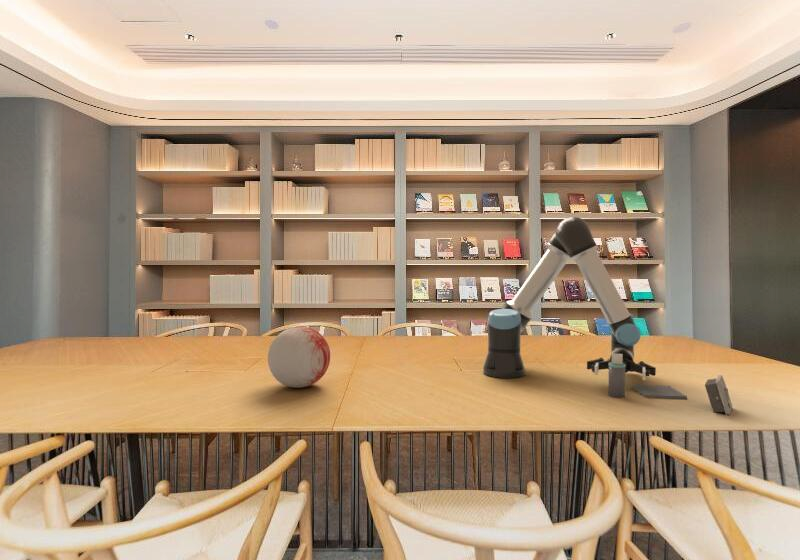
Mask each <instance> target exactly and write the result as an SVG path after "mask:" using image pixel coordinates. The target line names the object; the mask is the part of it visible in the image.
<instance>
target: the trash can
mask: <svg viewBox="0 0 800 560" xmlns="http://www.w3.org/2000/svg"><path fill="white" fill-rule="evenodd" d="M622 359H623V354H614V353H612V362H609V363H608V366H609V369H608V384H607V385H608V394H607V395H608V397H611V398H617V399H622V398H625V397H626V396H625V392H626V387H625V386H626V373H625V367H626V364H624V363H622Z"/></svg>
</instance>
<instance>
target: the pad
mask: <svg viewBox="0 0 800 560" xmlns="http://www.w3.org/2000/svg"><path fill="white" fill-rule="evenodd" d="M631 387H632V388H631ZM630 388H631V389H633V390H634V389H635V390H636V392H637V393H638V392H639V393H640V394H639V393H638V394H639V395H641V394H642V395H643V396H642V395H641V396H642V397H643V398H645V397H655V398H654V399H671V398H678V400H688V396H687V395H685V394H684V393H682V392H680V391H679V390H677V389H675V388H673V387H672V386H670V385H652V384H651V385H650V384H649V385H646V384H645V385H644V384H631V385H630ZM635 390H634V391H635Z"/></svg>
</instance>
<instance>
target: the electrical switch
mask: <svg viewBox="0 0 800 560" xmlns="http://www.w3.org/2000/svg"><path fill="white" fill-rule="evenodd" d="M704 387H705V389H706V393H707V396H708V400H709V402H710V407H711V409H712V413H725V416H728V415H731V412H732V409H733V404H732V402H731V398H730V397H731V396H730V393H729V388H727V385H726V381H725V380H724V376H723V375H720V374H719V375H718V376H717V378H710V379H707V380H706V382H705V384H704Z"/></svg>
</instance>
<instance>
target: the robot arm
mask: <svg viewBox="0 0 800 560" xmlns="http://www.w3.org/2000/svg"><path fill="white" fill-rule="evenodd" d="M546 243H547V249H546V251H545V253H543V256H541V258H540V259H539V261H538V263H537V264H536V265H535V266H534V268H533V270H532V271H531V272H530V274H529V275H528V277H527V278H526V280H525V281H524V282H523V284H522V285H521V287H520V288H519V290H518V291H517V293H516V294H515V295H514V296H513V298H512V299H511V300H510V299H509V300H506V301H505V303H504V304H503V305H502V307H501V308H497V309H494V310H491V311H490V312H489V313H488V317H487V323H488V326H487V327H488V331H487V333H488V334H487V337H488V338H487V346H488V347H487V349H488V350H487V355H486V357H485V361H484V364H483V368H482V369H483V370H482V371H483V374H484V375H486V376H489V377H493V378H498V379H499V378H501V379H515V378H517V379H518V378H523V377H524V376H526V375H525V374H526V367H525V365H524V361H523V358H522V355H521V334H522V333H523V332H524V329H526V327H527V326H528V325H529V323H530V321H531V320H532V319H533V318H532V317H533V316H532V312H533V310H534V309H535V307H536V306H537V305H538V303H539V302H540V300H541V299H542V298H543V296H544V294H545V293H546V292H547V290H548V289H549V288H550V286H551V285H552V283H553V282H554V280H555V279H556V278H557V276H558V275H560V272H561V271H562V270H563V268H564V267H565V266H566V265H567V263H568V262H569V261H575V262H576V264H577V266H578V268H579V271H580V272H581V275H582V276H583V279H584V280H585V281H586V284H587V285H588V288H589V289H590V291H591V293H592V295H593V297H594V299H595V300H596V302H597V304H598V307H599V308H600V310H601V312H602V314H603V315H604V318H605V320H606V321H607V323H608V325H609V327H610V330H611V331H610V333H611V334H610V335H611V336H610V337H611V340H610V341H611V343H610V345H611V346H610V347H611V348H610V357H609V358H608V359H607V360H605V358H604V357H599V358H596V359H592V360H588V361H586V369H587V370H591V371H592V373H593V375H594V376H598V374H599V370H601V371H602V370H609V366H608V363H609V362H612V353H614V354H623V359H622V363H624V364H626V367H625V374H626V373H629V372H631V373H632V372H635V373H637V374H642V381H646V377H650V376H653V377H654V376H656V373H657V370H656V368H657V367H655V366H653V365H650V364H648V363H646V362H645V361H642V360H641V361H639V362H637V363H635V361H634V360H635V352H634V351H635V350H634V347H635V346H636V344H638V343H639V341H640V339H641V331H640V328H639V327H638V326H637V325H636V323H635V320H634V315H633V313H630V312H629V310H628V308H627V306H626V304H625V302H624V301H623V299H622V297H621V295H620V293H619V291H618V290H617V287H616V286H615V284H614V282H613V280H612V278H611V276H610V275H609V274H610V273H608V270H607V268H606V267H605V265H604V263H603V261H602V259H601V258H600V256H599V254H598V252H597V247H598V245H597V244H596V243H597V242H596V241H595V239H594V237H593V235H592V231H591V229H590V226H589V224H588V222H586V220H584V218H581V217H578V216H569V217H566V218H564V219H563V220H561V221H560V222H559V223H558V225H557V227H556V230H555V231H554V233H553V234H552V236H551V237H550V238H549V240H548V241H547V242H546ZM634 345H635V346H634Z"/></svg>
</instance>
